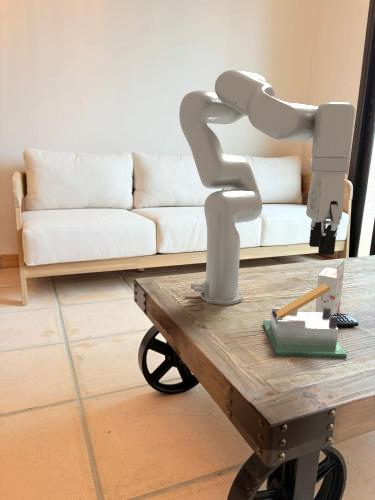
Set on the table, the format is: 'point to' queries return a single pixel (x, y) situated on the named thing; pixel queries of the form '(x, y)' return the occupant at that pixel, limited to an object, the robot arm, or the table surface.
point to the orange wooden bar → (302, 300)
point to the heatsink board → (304, 348)
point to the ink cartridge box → (331, 289)
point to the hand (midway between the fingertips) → (321, 249)
